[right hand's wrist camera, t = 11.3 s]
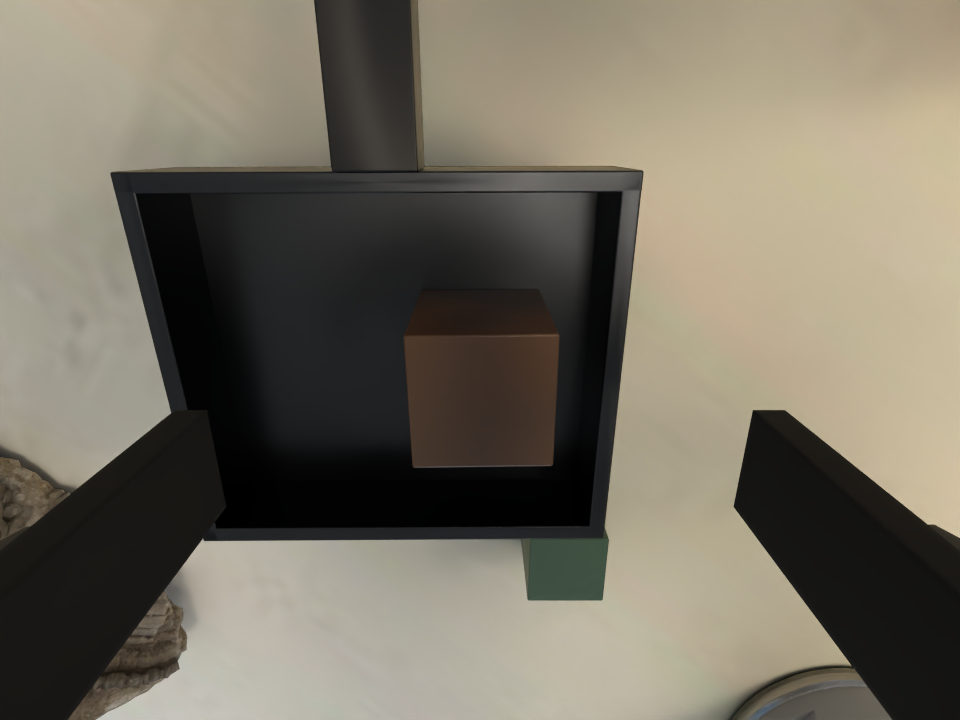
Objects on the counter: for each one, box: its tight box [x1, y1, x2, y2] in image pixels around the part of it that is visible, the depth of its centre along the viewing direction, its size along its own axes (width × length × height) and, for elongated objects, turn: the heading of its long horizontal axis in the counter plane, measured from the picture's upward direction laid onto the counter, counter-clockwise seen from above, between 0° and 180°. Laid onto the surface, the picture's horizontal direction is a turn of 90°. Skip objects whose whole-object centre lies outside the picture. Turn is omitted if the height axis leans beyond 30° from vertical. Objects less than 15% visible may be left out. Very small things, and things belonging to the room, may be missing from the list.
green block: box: [522, 529, 609, 600], centre depth 32 cm, size 4×4×5 cm
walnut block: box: [403, 289, 559, 468], centre depth 18 cm, size 4×4×5 cm
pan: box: [111, 0, 643, 541], centre depth 15 cm, size 15×31×4 cm, turn 0°
